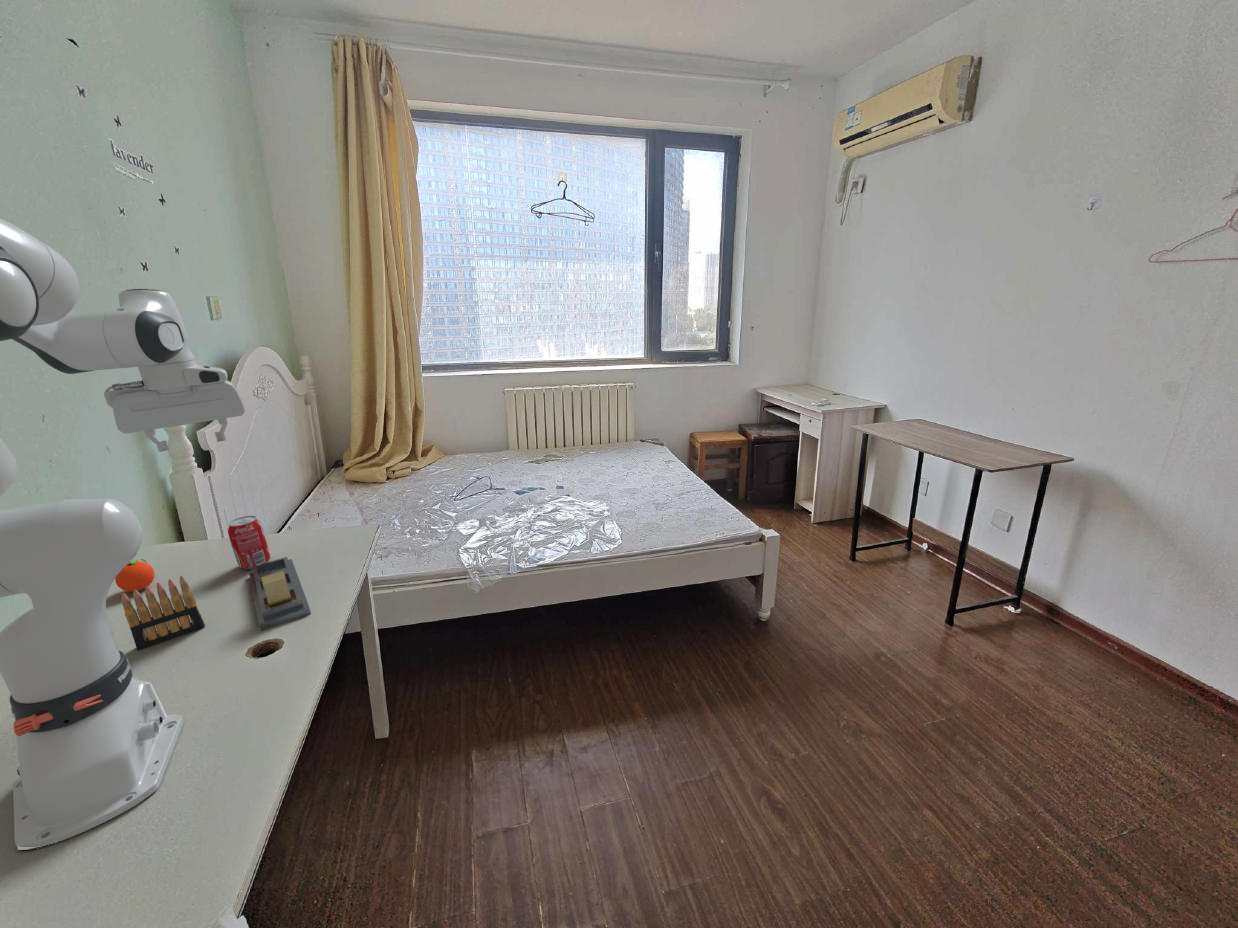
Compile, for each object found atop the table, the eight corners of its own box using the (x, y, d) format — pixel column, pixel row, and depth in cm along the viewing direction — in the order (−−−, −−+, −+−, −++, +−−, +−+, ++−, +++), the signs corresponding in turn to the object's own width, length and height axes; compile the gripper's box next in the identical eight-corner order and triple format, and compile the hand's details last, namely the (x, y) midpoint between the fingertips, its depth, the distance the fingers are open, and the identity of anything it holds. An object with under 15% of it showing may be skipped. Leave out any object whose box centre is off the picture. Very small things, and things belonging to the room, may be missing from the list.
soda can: (253, 557, 141) (241, 514, 137) (278, 557, 140) (266, 514, 136) (231, 570, 134) (217, 526, 130) (257, 571, 133) (244, 526, 129)
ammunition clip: (137, 650, 105) (115, 596, 101) (137, 646, 106) (116, 592, 103) (205, 627, 111) (187, 575, 108) (204, 623, 113) (186, 572, 109)
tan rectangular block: (293, 605, 114) (285, 577, 112) (271, 612, 112) (263, 584, 110) (290, 597, 118) (283, 570, 116) (269, 604, 115) (261, 577, 113)
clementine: (137, 581, 132) (127, 554, 130) (168, 577, 133) (159, 551, 130) (112, 599, 124) (101, 571, 122) (145, 595, 125) (135, 568, 123)
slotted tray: (311, 613, 114) (307, 600, 113) (260, 630, 109) (257, 617, 108) (293, 564, 136) (290, 553, 135) (250, 576, 131) (247, 565, 130)
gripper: (97, 387, 97) (124, 460, 102) (234, 371, 109) (253, 438, 113) (103, 383, 102) (128, 453, 107) (233, 368, 113) (251, 432, 118)
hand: (193, 445), depth 110 cm, fingers open, 8 cm apart
